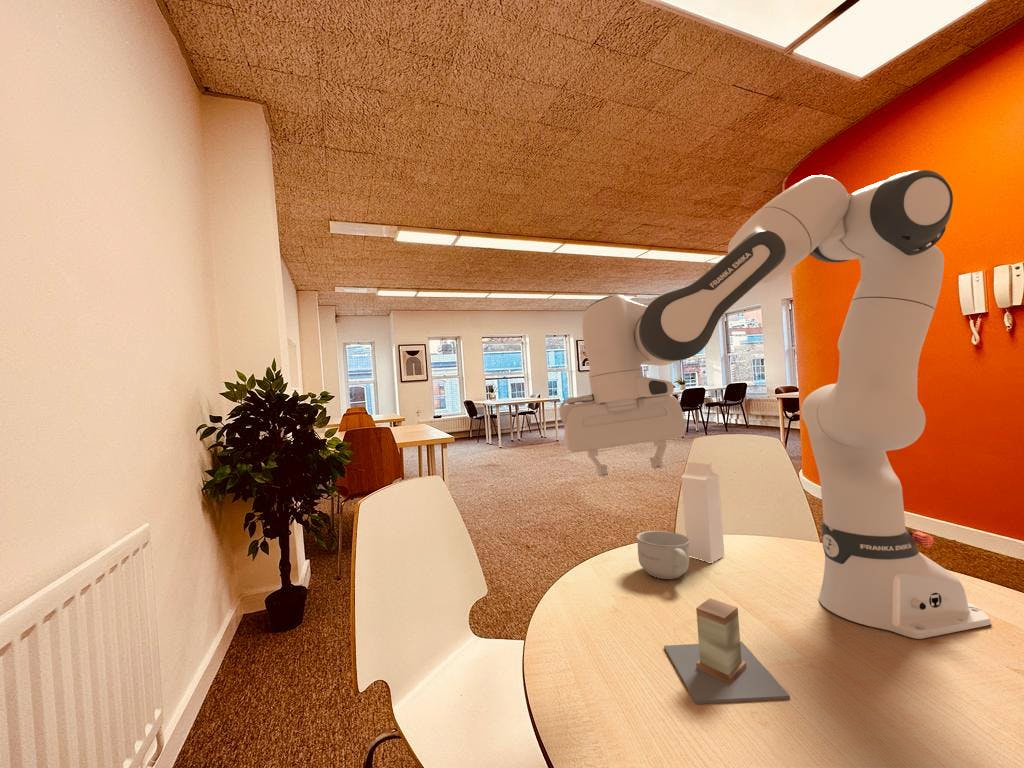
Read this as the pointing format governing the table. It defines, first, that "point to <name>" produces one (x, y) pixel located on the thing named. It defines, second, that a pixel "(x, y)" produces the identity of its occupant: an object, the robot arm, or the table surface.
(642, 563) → the teacup
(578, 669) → the table surface
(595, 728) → the table surface
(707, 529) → the milk
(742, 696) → the mat
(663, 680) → the table surface
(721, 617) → the banded square pillar
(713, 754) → the table surface
